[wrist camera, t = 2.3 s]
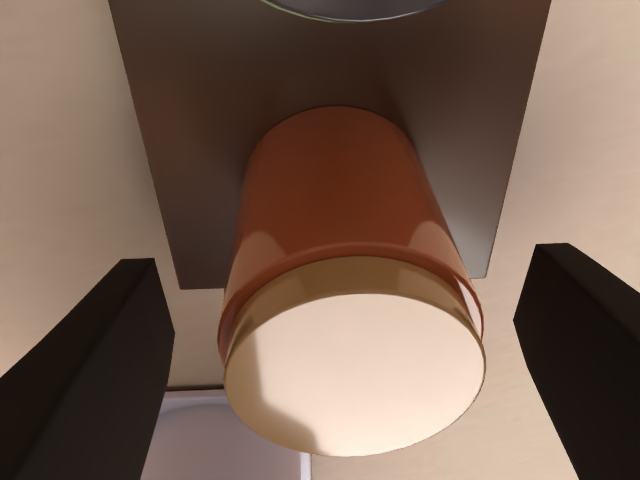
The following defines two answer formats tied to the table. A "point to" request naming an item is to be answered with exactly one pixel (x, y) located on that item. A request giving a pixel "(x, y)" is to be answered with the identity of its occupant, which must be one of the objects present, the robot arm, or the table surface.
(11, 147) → the table surface
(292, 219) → the spice jar
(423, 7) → the sage pot
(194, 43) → the stand
